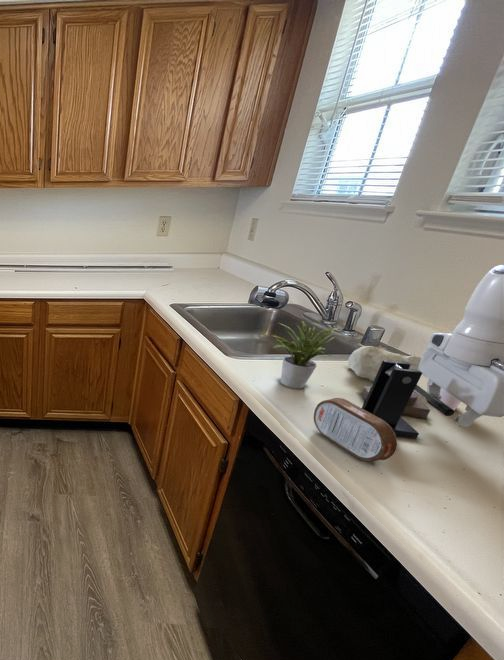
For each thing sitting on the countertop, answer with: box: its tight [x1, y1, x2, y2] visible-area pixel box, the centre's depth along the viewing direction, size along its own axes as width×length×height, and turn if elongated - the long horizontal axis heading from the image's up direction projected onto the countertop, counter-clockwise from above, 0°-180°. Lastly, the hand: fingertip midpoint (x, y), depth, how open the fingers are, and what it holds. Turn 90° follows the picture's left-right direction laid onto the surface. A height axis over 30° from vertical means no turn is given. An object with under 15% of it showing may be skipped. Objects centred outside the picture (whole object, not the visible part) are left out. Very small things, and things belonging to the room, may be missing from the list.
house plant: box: [270, 320, 340, 389], centre depth 104 cm, size 14×14×16 cm
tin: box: [313, 397, 398, 462], centre depth 80 cm, size 15×3×8 cm, turn 10°
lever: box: [385, 364, 455, 417], centre depth 84 cm, size 13×6×2 cm
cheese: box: [347, 345, 422, 383], centre depth 108 cm, size 15×7×15 cm
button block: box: [360, 385, 431, 419], centre depth 96 cm, size 10×8×4 cm
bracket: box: [361, 360, 423, 439], centre depth 86 cm, size 11×8×14 cm
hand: (445, 412), depth 85 cm, fingers open, 8 cm apart
